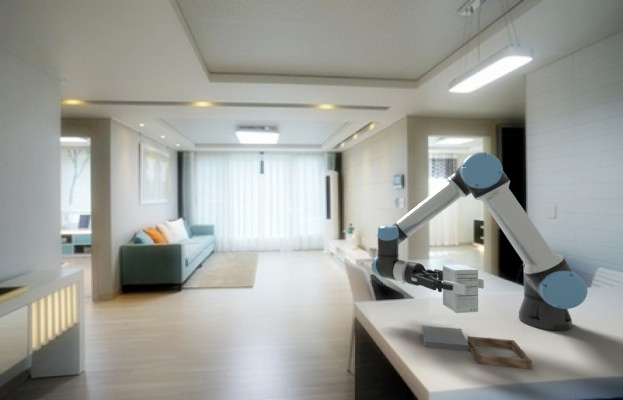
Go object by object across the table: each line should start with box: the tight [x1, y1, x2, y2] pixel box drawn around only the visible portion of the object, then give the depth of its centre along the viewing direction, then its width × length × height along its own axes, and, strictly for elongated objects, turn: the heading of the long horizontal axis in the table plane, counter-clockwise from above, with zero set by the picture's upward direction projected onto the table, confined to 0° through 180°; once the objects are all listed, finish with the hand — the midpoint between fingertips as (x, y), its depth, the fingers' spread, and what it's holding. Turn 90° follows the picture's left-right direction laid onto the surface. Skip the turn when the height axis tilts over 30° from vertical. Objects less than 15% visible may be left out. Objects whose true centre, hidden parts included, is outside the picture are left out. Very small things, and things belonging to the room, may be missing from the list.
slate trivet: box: [421, 325, 470, 351], centre depth 99 cm, size 12×12×2 cm
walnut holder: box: [467, 336, 532, 370], centre depth 89 cm, size 12×12×2 cm
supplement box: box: [442, 264, 479, 314], centre depth 95 cm, size 7×7×13 cm
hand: (474, 286), depth 92 cm, fingers closed on supplement box, 10 cm apart
